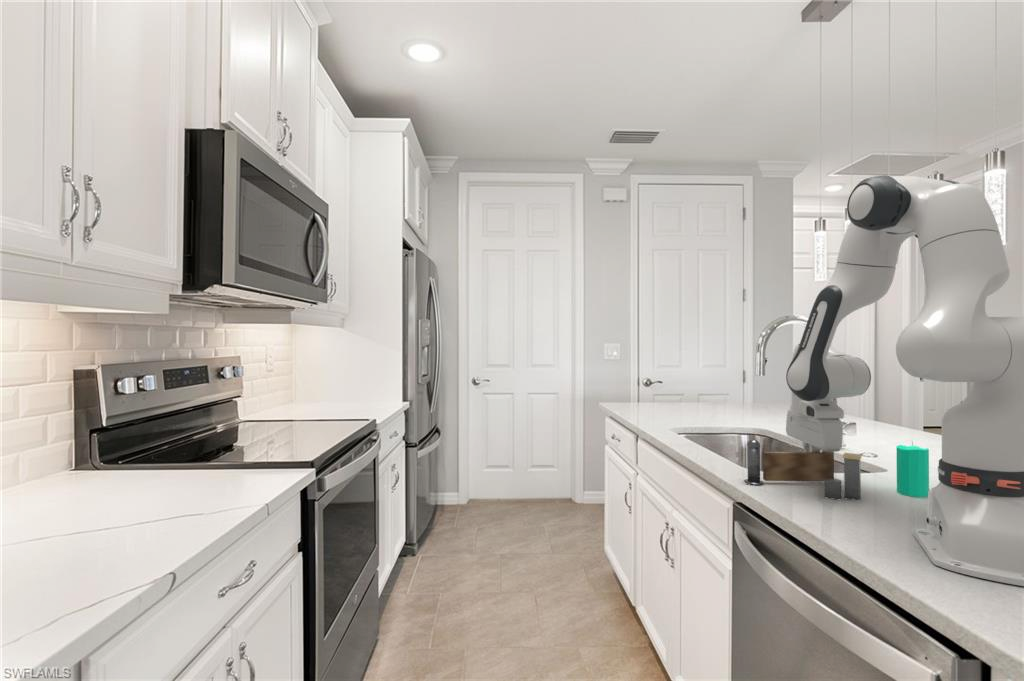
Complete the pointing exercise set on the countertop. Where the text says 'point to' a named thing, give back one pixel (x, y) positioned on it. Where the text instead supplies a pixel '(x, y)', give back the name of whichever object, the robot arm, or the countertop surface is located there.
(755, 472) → the hinge post
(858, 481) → the latch post
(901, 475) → the candle
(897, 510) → the countertop surface
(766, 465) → the gate
